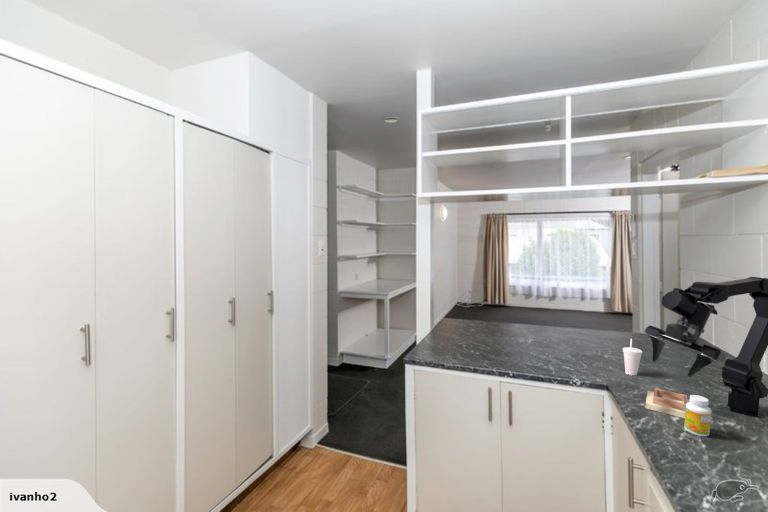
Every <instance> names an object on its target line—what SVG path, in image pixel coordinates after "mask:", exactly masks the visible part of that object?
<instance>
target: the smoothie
mask: <svg viewBox="0 0 768 512" xmlns="http://www.w3.org/2000/svg"><path fill="white" fill-rule="evenodd" d="M622 352H623V360H624V361H623V362H624V370H625V371H624V372H625V374H626V375H628V374H629V376H632V375H636V376H637V375H638V370H639V367H640V361H641V359H642V358H641V357H642V355H643V351H642V350H641V349H639V348H636V347H633V338H630V342H629V346H625V347H622Z"/></svg>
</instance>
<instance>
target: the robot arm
mask: <svg viewBox="0 0 768 512" xmlns="http://www.w3.org/2000/svg"><path fill="white" fill-rule="evenodd" d="M691 284H692V285H690V286H689V287H687V288H686V289H684V290H683V288H679V287H673V289H672V291H669V292H667V293H665V294H664V295H663V296H662V297H661V301H660V302H661V305H662V307H664V308H665V309H666V310H669V311H671V312H673V313H674V314H677V315H678V316H681V318H680V319H677V320H676V322H675V323H669V324H666V326H665V330H663V329H662V328H658V327H656V326H653V325H648V326H647V327H645V329H644V331H643V332H644V333H645V334H646V335H647V338H649V339H651V343H652V362H654V363H656V362H657V360H658V359H659V358H660V355H661V353H662V351H663V349H664V347H665V345H666V342H664V341H665V340H666V341H669V342H671V343H673V344H674V343H675V344H676V345H679V346H682V347H684V348H687V349H691V350H693V351H696V352H699V353H697V354H696V358H695V361H694V362H693V364H692V365H691V367H690V368H689V371H688V373H687V377H688V378H691V377H693V376H694V375H695V374H696V373H698V372H699V371H700V370H701V369H703V368H705V367H707V366H709V365H711V364H712V363H713V364H715V365H716V364H717V362H719V363H721V364H724V365H723V367H722V368H721V369H720V370H721V378H722V381H723V386H725V387H728V388H729V390H728V391H727V394H726V406H727V407H728V408H729V410H730V411H731V412H736V413H739V414H744V415H748V416H753V417H757V418H760V417H761V415H760V413H759V409H760V399H765V398H766V397H768V387H766V385H765V384H764V382H763V381H762V379H763V376H764V375H763V372H762V368H761V366H760V365H761V362H762V360H763V357H764V355H765V353H766V351H767V348H768V278H767V277H758V276H749V277H747V278H742V279H741V278H740V279H736V280H735V279H734V280H727V281H722V282H712V281H695V282H693V283H691ZM747 294H748V296H750V297H751V299H752V300H754V301H753V302H752V303H753V304H752V307H753V309H754V313H755V317H754V319H753V322H752V324H751V325H750V328H749V330H748V332H747V335H746V337H745V339H744V342H743V344H742V346H741V348H740V350H739V353H738V355H737V356H736V357H734V358H732V359H731V358H727V355H726V353H725V352H724V351H722V350H721V349H718V348H716V347H713V346H710V345H707V344H703V345H700V344H699V342H698V341H699V340H700V337H701V336H702V334H704V332H705V326H706V324H707V322H708V320H709V318H710V317H711V314H713V315H716V316H717V315H718V311H717V309H716V308H715V305H716V304H717V305H718V304H721V303H723V302H726V301H727V300H729V297H735V296H742V295H747ZM713 304H715V305H713Z"/></svg>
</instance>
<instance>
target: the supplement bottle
mask: <svg viewBox="0 0 768 512" xmlns="http://www.w3.org/2000/svg"><path fill="white" fill-rule="evenodd" d="M689 400H690V402H688V403H687V404H686V411H685V418H684V424H683V425H684V429H685V430H686V431H687V432H688V433H690V434H693V435H695V436H700V437H709V435H710V433H711V430H710V429H711V421H712V409H711V408H710V406H709V404H710V403H709V402H710V400H709V399H708V398H707V397H705V396H701V395H699V394H697V395H696V394H690V395H689Z"/></svg>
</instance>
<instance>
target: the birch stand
mask: <svg viewBox="0 0 768 512" xmlns="http://www.w3.org/2000/svg"><path fill="white" fill-rule="evenodd" d="M645 399H646V400H645V408H644V409H647V410H652V411H654V412H655V411H656V412H659V413H663V414H666V415H671V416H675V417H679V418H683V419H685V411H686V404H687V403H688V402H690V399H688V395H687V394H682V393H679V392H678V393H677V392H675V391H674V392H673V391H669V390H665V389H661V388H657V387H656V388H654V390H653V391H652V390H647V393H646V398H645Z"/></svg>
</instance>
